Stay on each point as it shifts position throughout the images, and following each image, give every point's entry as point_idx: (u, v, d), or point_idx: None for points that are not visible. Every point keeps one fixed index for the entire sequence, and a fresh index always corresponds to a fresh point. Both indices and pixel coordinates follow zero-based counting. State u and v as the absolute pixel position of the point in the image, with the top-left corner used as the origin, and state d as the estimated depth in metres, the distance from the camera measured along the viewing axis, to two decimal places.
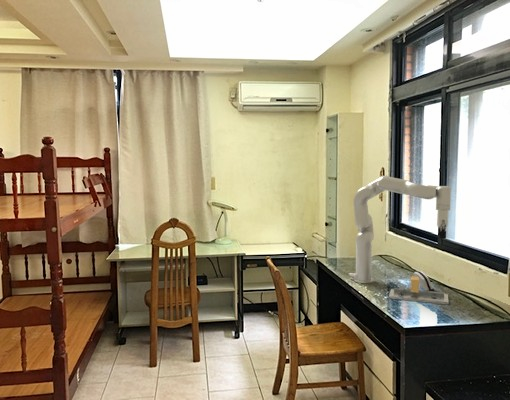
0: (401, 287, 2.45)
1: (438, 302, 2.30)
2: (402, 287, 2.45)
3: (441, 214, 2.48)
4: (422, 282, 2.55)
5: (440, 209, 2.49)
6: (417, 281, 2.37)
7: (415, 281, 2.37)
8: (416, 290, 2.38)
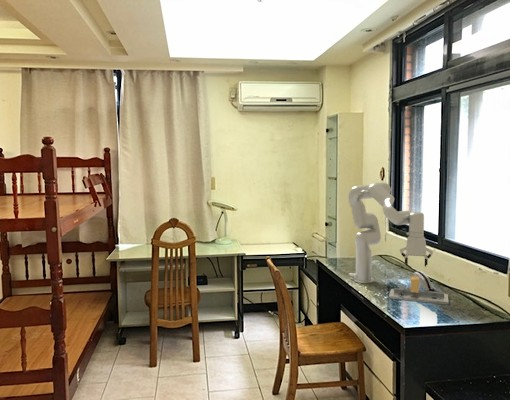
0: (401, 287, 2.45)
1: (438, 302, 2.30)
2: (402, 287, 2.45)
3: (425, 241, 2.36)
4: (422, 282, 2.55)
5: (422, 237, 2.36)
6: (417, 281, 2.37)
7: (415, 281, 2.37)
8: (416, 290, 2.38)
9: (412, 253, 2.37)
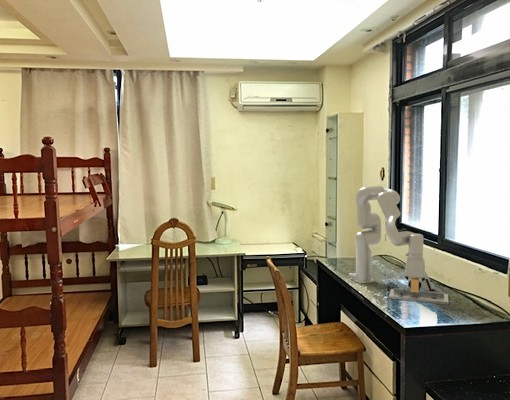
0: (401, 287, 2.45)
1: (438, 302, 2.30)
2: (402, 287, 2.45)
3: (424, 263, 2.37)
4: (423, 282, 2.55)
5: (422, 258, 2.37)
6: (417, 281, 2.37)
7: (415, 281, 2.37)
8: (416, 290, 2.38)
9: (411, 274, 2.39)
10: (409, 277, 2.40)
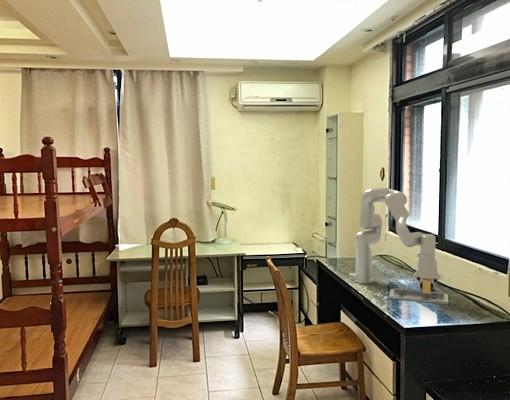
0: (401, 287, 2.45)
1: (438, 302, 2.30)
2: (402, 287, 2.45)
3: (436, 264, 2.35)
4: None
5: (434, 259, 2.35)
6: (429, 282, 2.35)
7: (427, 282, 2.35)
8: (428, 291, 2.35)
9: (423, 275, 2.36)
10: (421, 278, 2.38)
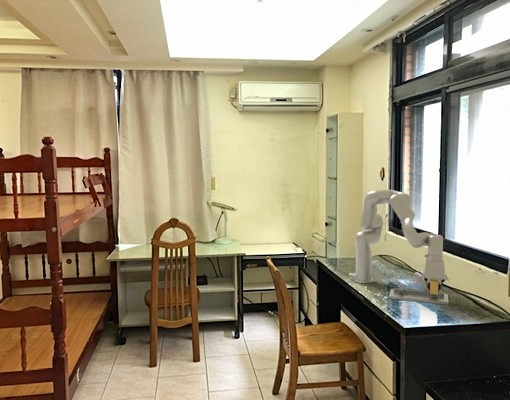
0: (401, 287, 2.45)
1: (438, 302, 2.30)
2: (402, 287, 2.45)
3: (444, 265, 2.33)
4: (423, 282, 2.54)
5: (441, 260, 2.33)
6: (437, 283, 2.33)
7: (435, 282, 2.34)
8: (435, 292, 2.34)
9: (430, 276, 2.35)
10: (428, 279, 2.37)
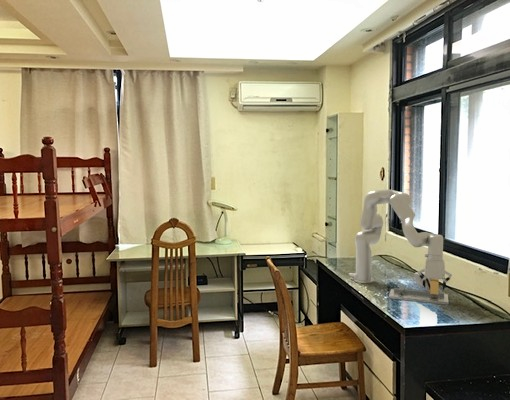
0: (401, 287, 2.45)
1: (438, 302, 2.30)
2: (402, 287, 2.45)
3: (444, 264, 2.33)
4: None
5: (441, 259, 2.33)
6: (437, 283, 2.33)
7: (435, 282, 2.34)
8: (436, 292, 2.34)
9: (430, 275, 2.35)
10: (425, 277, 2.37)
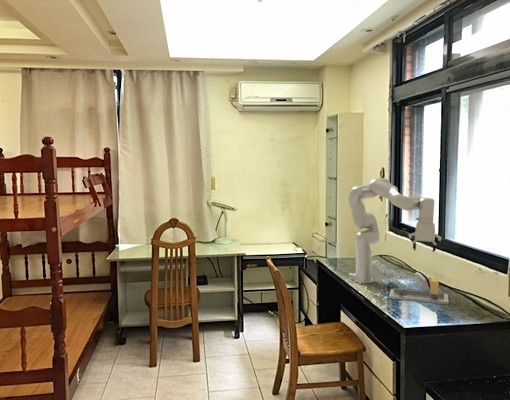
0: (401, 287, 2.45)
1: (438, 302, 2.30)
2: (402, 287, 2.45)
3: (434, 227, 2.37)
4: (423, 283, 2.54)
5: (432, 222, 2.37)
6: (437, 283, 2.33)
7: (435, 282, 2.34)
8: (436, 292, 2.34)
9: (421, 238, 2.39)
10: (415, 239, 2.41)
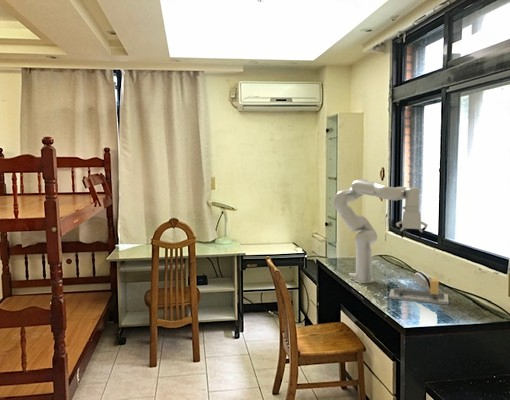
0: (401, 287, 2.45)
1: (438, 302, 2.30)
2: (402, 287, 2.45)
3: (420, 215, 2.49)
4: (424, 283, 2.54)
5: (418, 210, 2.48)
6: (437, 283, 2.33)
7: (435, 282, 2.34)
8: (436, 292, 2.34)
9: (407, 226, 2.50)
10: (403, 227, 2.53)
